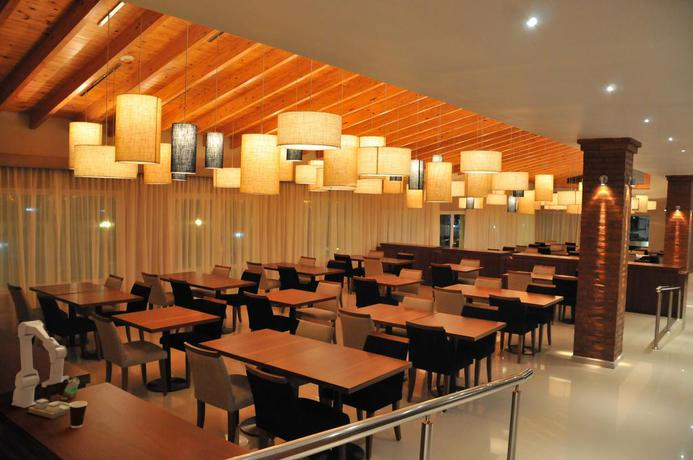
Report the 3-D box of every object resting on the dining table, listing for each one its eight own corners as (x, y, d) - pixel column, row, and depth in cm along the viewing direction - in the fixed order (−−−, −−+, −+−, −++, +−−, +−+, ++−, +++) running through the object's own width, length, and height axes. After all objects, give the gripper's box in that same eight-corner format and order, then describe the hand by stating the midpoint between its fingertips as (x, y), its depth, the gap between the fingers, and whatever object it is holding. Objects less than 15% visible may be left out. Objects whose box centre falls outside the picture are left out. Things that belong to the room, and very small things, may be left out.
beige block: (34, 412, 265) (35, 400, 265) (41, 410, 269) (42, 398, 268) (40, 414, 263) (41, 402, 263) (47, 411, 267) (48, 400, 267)
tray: (41, 408, 270) (42, 406, 270) (57, 403, 279) (57, 400, 279) (58, 413, 266) (59, 410, 266) (74, 407, 275) (74, 404, 275)
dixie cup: (86, 428, 252) (88, 405, 252) (68, 430, 248) (70, 407, 248) (84, 421, 259) (86, 400, 259) (66, 424, 254) (68, 401, 254)
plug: (52, 417, 261) (53, 405, 261) (46, 415, 262) (47, 404, 262) (59, 414, 265) (60, 403, 265) (53, 413, 266) (54, 401, 266)
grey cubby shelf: (28, 413, 263) (28, 407, 263) (42, 408, 271) (42, 402, 271) (52, 419, 258) (52, 413, 258) (65, 414, 266) (66, 408, 266)
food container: (70, 402, 282) (72, 384, 282) (59, 401, 282) (61, 383, 282) (82, 395, 294) (84, 377, 294) (71, 394, 294) (73, 376, 294)
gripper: (50, 375, 255) (48, 403, 255) (74, 368, 269) (72, 394, 269) (39, 373, 257) (37, 400, 257) (64, 366, 271) (61, 392, 271)
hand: (54, 397), depth 263 cm, fingers open, 7 cm apart
